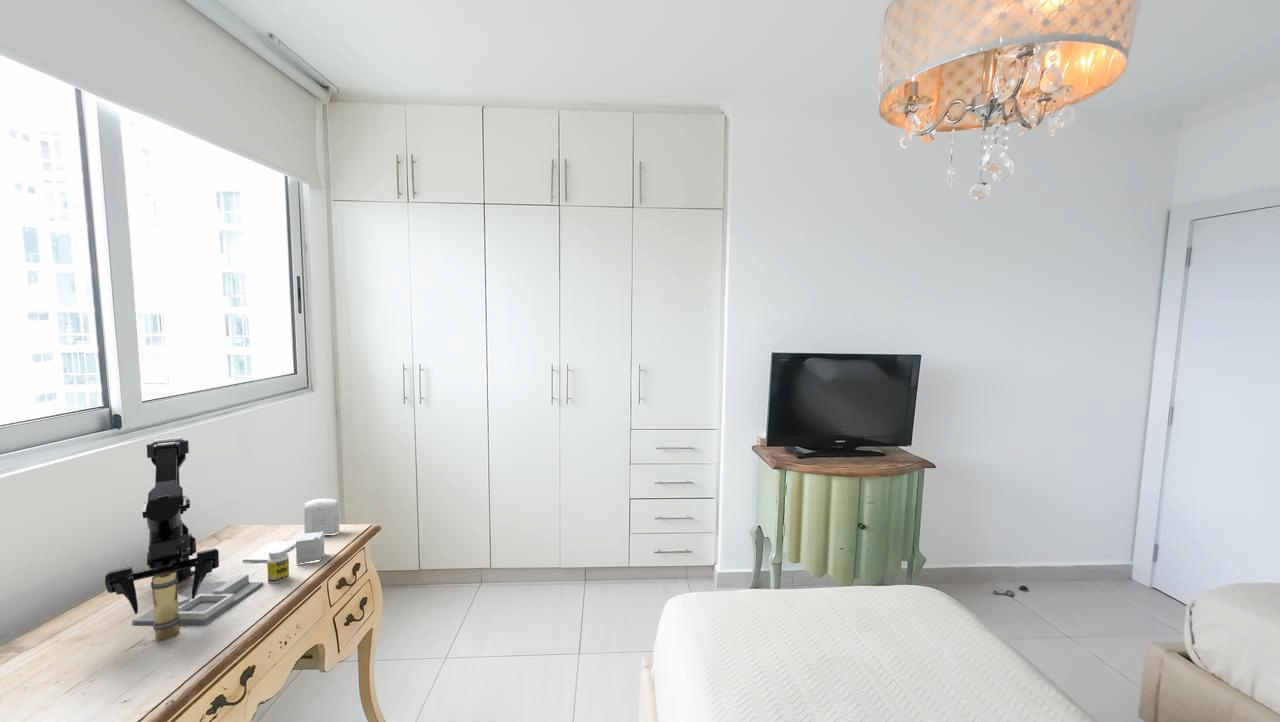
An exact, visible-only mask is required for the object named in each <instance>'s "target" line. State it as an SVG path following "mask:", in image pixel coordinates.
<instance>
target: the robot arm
mask: <svg viewBox="0 0 1280 722" xmlns="http://www.w3.org/2000/svg"><path fill="white" fill-rule="evenodd" d="M189 444H190V443H189V440H188V439H184V438H183V436H179V437H170V438H169V437H168V438H167V437H166V438H158V439H153V442H151V443H149V444H146V458H147V459H150V461H151V463H152V464H153V465H154V466H155V481H154V482H155V484H154V485H155V486H154V487H153V488H152V489H151V490H150V491H149V492H148V494H147V501H145V502H143V508H142V518H143V519H146V523H147V527H148V529H149V535H148V536H149V539H148V542H149V543H148V547H147V548H148V552H147V554H146V565H147V566H148V568H144V569H141V570H135V571H133V568H132V566H127V567H123V568H118V569H115V570H110V571H108V572H107V573H106V575H105V577H104V585H105V587H106V591H107V593H108V594H113V593H116V596H117V595H118V596H119V595H124V596H125V599H127V600H128V602H129V604H130V606H131V608H132V611H133V612H134V614H135V615H137V614H138V613H139V604H138V603H139V602H138V598H137V590H136V586H135V582H136V581H137V580H138V581H139V580H143V579H147V578H152V577H153V576H155V575H157V574H160V573H163V572H167V571H176V572H177V575H178V582H177V584H178V583H180V582H182V581H183V580H185V579H187V578H189V577H190V576H192V575H193V582H192V586H193V587H192V586H191V587H192V599H194V598H195V596H196V594H197V591H198V589H199V587H200V584H201V582H204V579H205V578H206V576H207V574H210V573H212V572H213V570H214V569H217V568H219V567H220V562H219V561H220V560H219V558H220V557H219V549H218V548H212V549H210V548H209V549H206V550H202V551H197V540H196V538H195V537H194V536H193V534H192V533H189V532H190V531H189V528H188V527H187V525H186V524H185V523H184V522H183V520H182V515H183V514H184V512H187V510H188V509H190V508H191V500H190V499H189V498H188V496H187V495H184V493H183V492H184V491H183V489H184V488H183V487H182V486H181V485H180V483H181V482H180V468H181V467H182V465H183V464H184V462H185V461H186V459H187V457H186V456H187V454H189V453H190V448H189V447H190V446H189ZM194 554H196V557H195V558H190V557H191V556H194ZM192 568H194V570H192Z"/></svg>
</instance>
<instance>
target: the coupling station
mask: <svg viewBox="0 0 1280 722" xmlns="http://www.w3.org/2000/svg"><path fill="white" fill-rule="evenodd" d="M249 579H250V578H249V574H247V573H246V574H245V573H243V574H241V573H240V574H238V575H236V576H235V577H233V578H232V579H230V580H228V581H202V582H201V584H200V587H199V589H198V591H197V594H196V596H195V598H194V599H192V587H193V585H192V586H191V587H188V589H185V590H184V591H182V592H180V593H178V609H179V615H180V622H179V626H180V625H185V626H187V625H189V626H190V625H193V626H194V625H195V626H196V625H197V626H202V625H203V626H204V625H207V624H208V623H210V622H211V621H212V620H214V619H215V618H217V617H219V616H220V615H221V614H224V612H226V611H228V610H229V609H230V608H232V607H234V606H235V605H236V604H238V603H239V602H241V601H242V600H243V598H244V599H245V598H246V596H247V597H248V596H249V595H251V594H253V593H254V592H255V591H257V590H258V589H260V588H261V587H263V586H264V582H263V581H258V582H257V581H249ZM262 585H263V586H262ZM240 600H241V601H240ZM237 602H238V603H237ZM218 615H219V616H218ZM153 623H154V608H152V609H150V610H149V611H147V612H145V613H143V614H141V615H140V616H139V617H136V618H134V619H133V620H132V622H131V625H153Z"/></svg>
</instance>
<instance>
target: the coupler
mask: <svg viewBox="0 0 1280 722" xmlns="http://www.w3.org/2000/svg"><path fill="white" fill-rule="evenodd" d="M177 582H178V575H177V572H176V571H167V572H163V573H160V574H157V575H155V576H152V577H151V582H150V587H151V589H152V605H153V609H154V623H153V624H152V626H153V627H152V629H153V630H154V640H155V641H158V642H159V641H161V642H162V641H167V640H170V639H172V638H174V637H175V636H178V635H179V633H180V632H181V631H180V625H179V622H180V615H179V609H178V594H179V591H178V589H179V588H178V583H179V582H178V583H177Z"/></svg>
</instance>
